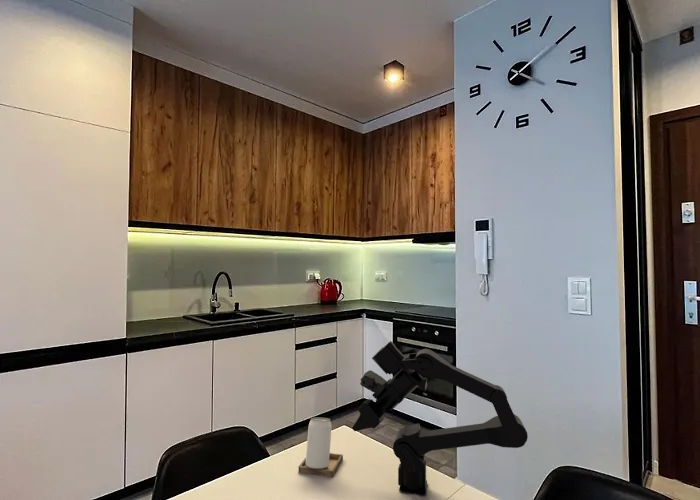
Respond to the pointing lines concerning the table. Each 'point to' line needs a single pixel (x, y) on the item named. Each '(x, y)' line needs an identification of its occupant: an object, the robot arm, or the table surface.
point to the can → (318, 443)
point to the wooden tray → (329, 471)
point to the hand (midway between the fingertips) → (360, 423)
